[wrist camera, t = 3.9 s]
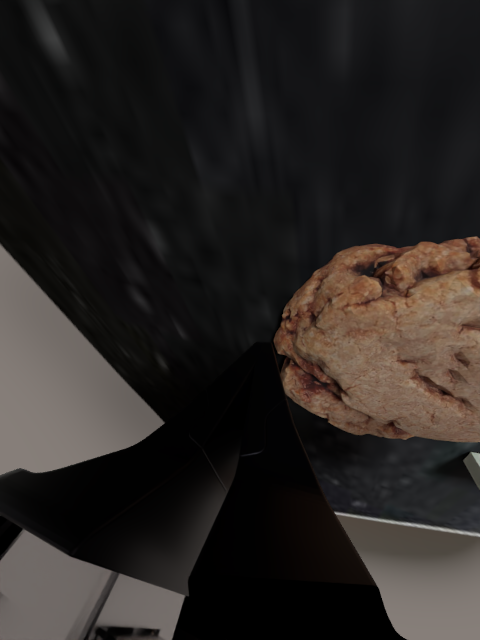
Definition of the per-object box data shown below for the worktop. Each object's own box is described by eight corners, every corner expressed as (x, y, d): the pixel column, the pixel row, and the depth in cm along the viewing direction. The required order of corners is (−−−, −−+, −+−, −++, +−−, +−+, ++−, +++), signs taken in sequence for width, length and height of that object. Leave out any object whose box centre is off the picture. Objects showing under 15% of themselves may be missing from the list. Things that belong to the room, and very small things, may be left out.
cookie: (636, 377, 7) (812, 478, 4) (338, 422, 13) (345, 477, 10) (583, 85, 4) (932, -44, 2) (239, 311, 10) (218, 350, 8)
